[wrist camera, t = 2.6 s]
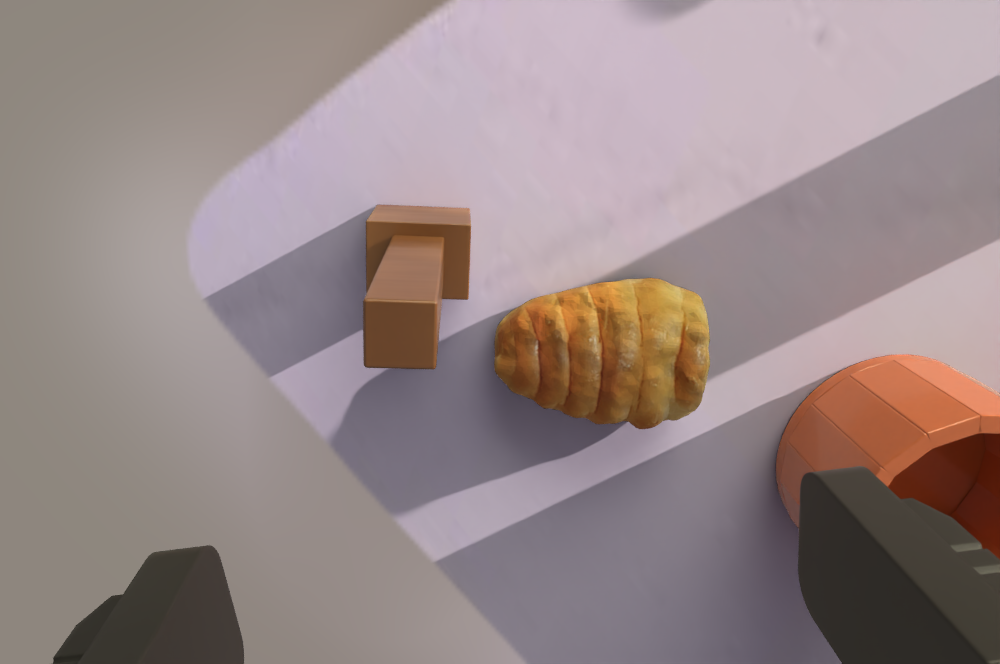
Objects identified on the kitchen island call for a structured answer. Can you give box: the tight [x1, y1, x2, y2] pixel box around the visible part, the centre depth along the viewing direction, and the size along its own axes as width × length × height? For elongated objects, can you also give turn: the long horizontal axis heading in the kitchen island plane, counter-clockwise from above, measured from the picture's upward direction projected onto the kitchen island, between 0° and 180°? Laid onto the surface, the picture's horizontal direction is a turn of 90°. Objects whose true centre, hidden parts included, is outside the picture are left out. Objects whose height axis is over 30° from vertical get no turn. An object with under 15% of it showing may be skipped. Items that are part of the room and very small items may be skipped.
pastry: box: [494, 278, 710, 429], centre depth 33 cm, size 9×7×4 cm
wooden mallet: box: [363, 205, 471, 369], centre depth 26 cm, size 4×3×13 cm
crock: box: [776, 355, 1000, 559], centre depth 34 cm, size 11×11×7 cm
